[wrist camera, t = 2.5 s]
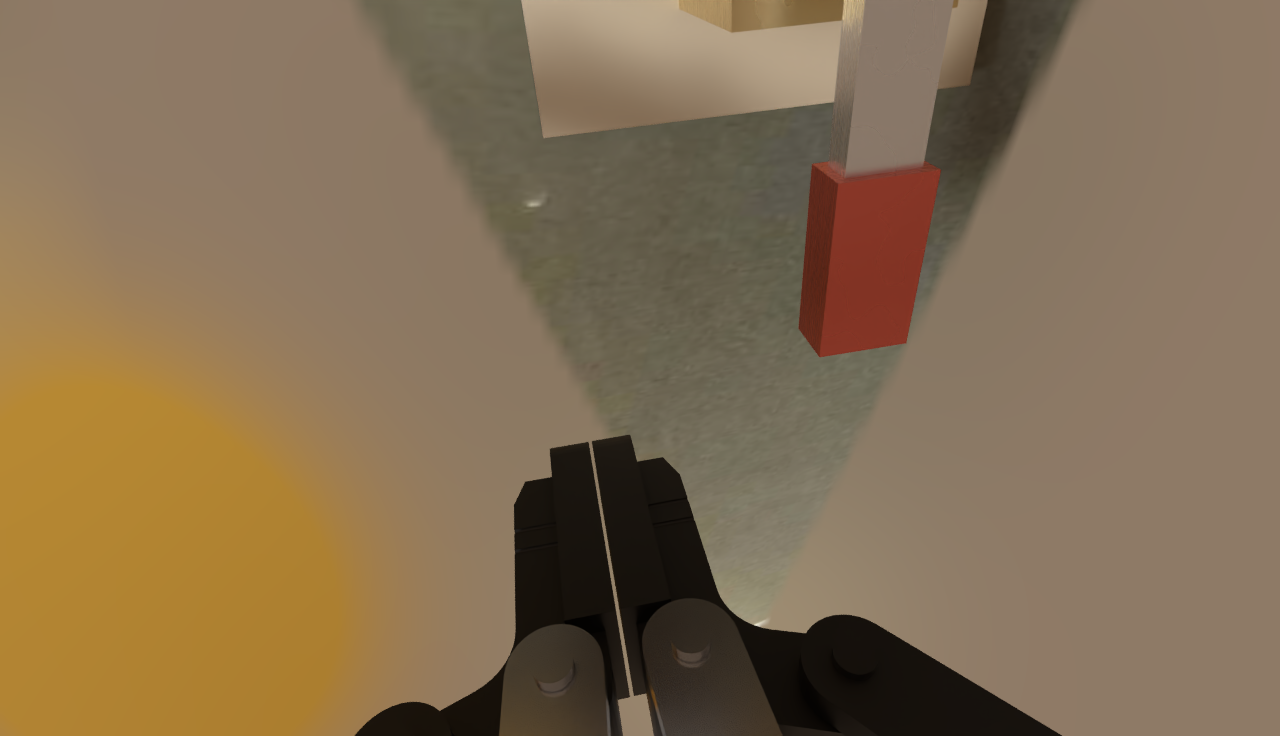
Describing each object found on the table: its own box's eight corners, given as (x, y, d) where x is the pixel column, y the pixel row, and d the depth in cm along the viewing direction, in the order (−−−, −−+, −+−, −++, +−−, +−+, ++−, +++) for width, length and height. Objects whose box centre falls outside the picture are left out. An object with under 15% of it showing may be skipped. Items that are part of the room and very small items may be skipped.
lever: (838, -225, 12) (879, -245, 11) (976, -236, 12) (1031, -255, 11) (795, 328, 19) (816, 357, 18) (882, 315, 19) (909, 342, 18)
